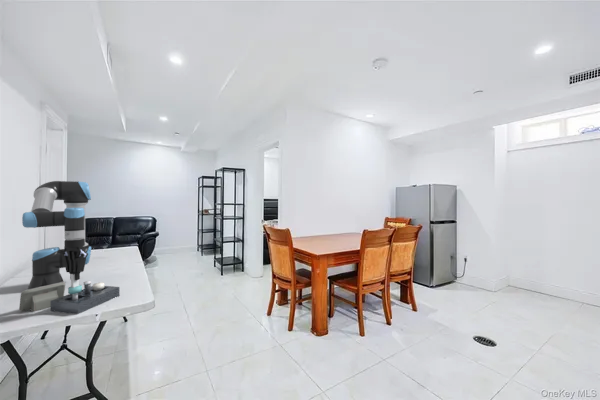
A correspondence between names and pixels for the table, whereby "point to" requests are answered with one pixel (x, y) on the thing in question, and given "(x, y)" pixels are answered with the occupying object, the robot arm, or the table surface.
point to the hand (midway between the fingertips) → (75, 286)
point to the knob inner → (98, 286)
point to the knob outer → (75, 291)
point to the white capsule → (87, 287)
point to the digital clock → (41, 297)
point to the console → (84, 300)
